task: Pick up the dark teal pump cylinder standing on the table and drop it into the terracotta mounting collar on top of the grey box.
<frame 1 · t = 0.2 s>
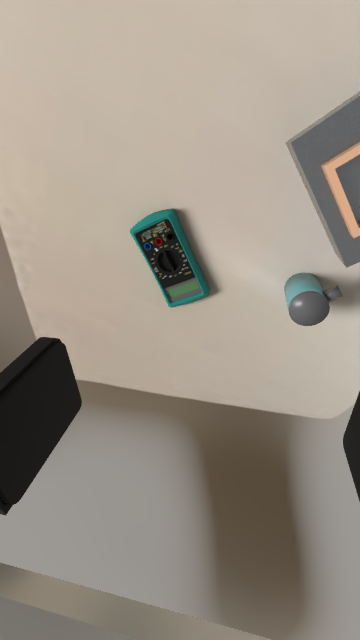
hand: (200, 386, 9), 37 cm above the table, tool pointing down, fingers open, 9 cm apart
digital multimeter: (173, 258, 47), on the table
pump: (301, 288, 45), on the table
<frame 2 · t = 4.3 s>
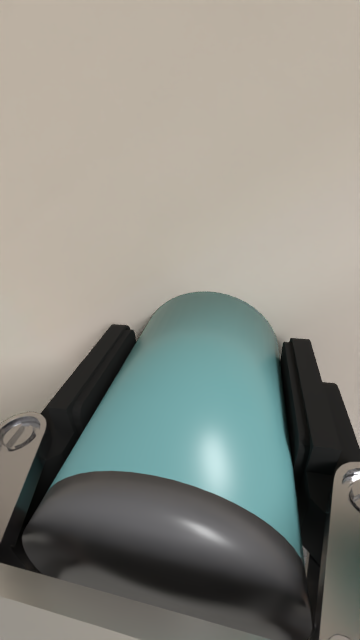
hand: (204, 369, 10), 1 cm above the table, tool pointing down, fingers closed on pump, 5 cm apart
pump: (208, 352, 11), on the table, touching gripper
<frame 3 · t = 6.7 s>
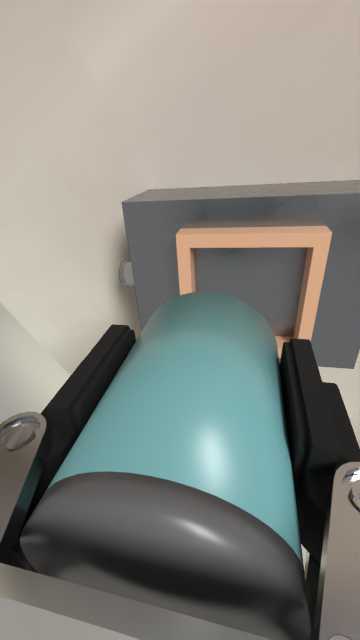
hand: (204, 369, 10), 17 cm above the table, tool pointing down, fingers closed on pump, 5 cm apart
pump: (207, 352, 11), point 16 cm above the table, touching gripper
grey box: (246, 261, 25), on the table
when the fingers open (8 cm above the table, at t = 9.4 s): pump drops 1 cm, resting on grey box.
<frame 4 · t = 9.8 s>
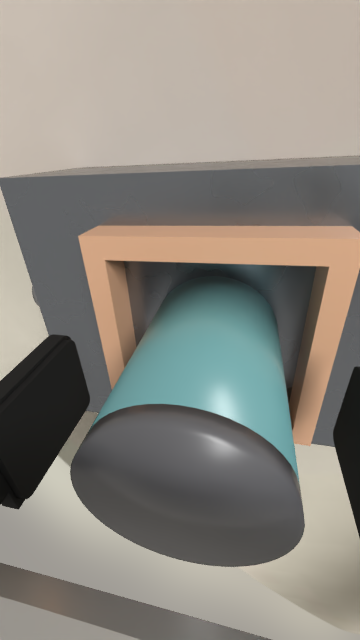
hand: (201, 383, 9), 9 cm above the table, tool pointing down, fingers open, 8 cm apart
pump: (214, 332, 12), point 6 cm above the table, touching grey box
grey box: (224, 277, 17), on the table
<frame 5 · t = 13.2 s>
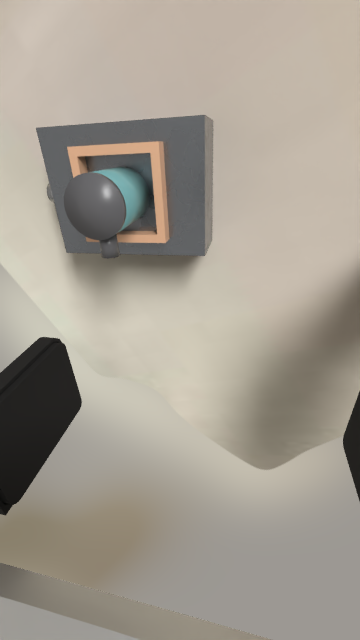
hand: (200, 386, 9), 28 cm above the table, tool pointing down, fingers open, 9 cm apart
pump: (125, 195, 29), point 6 cm above the table, touching grey box
grey box: (143, 187, 34), on the table
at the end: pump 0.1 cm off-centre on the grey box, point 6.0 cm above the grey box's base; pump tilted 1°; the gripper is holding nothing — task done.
